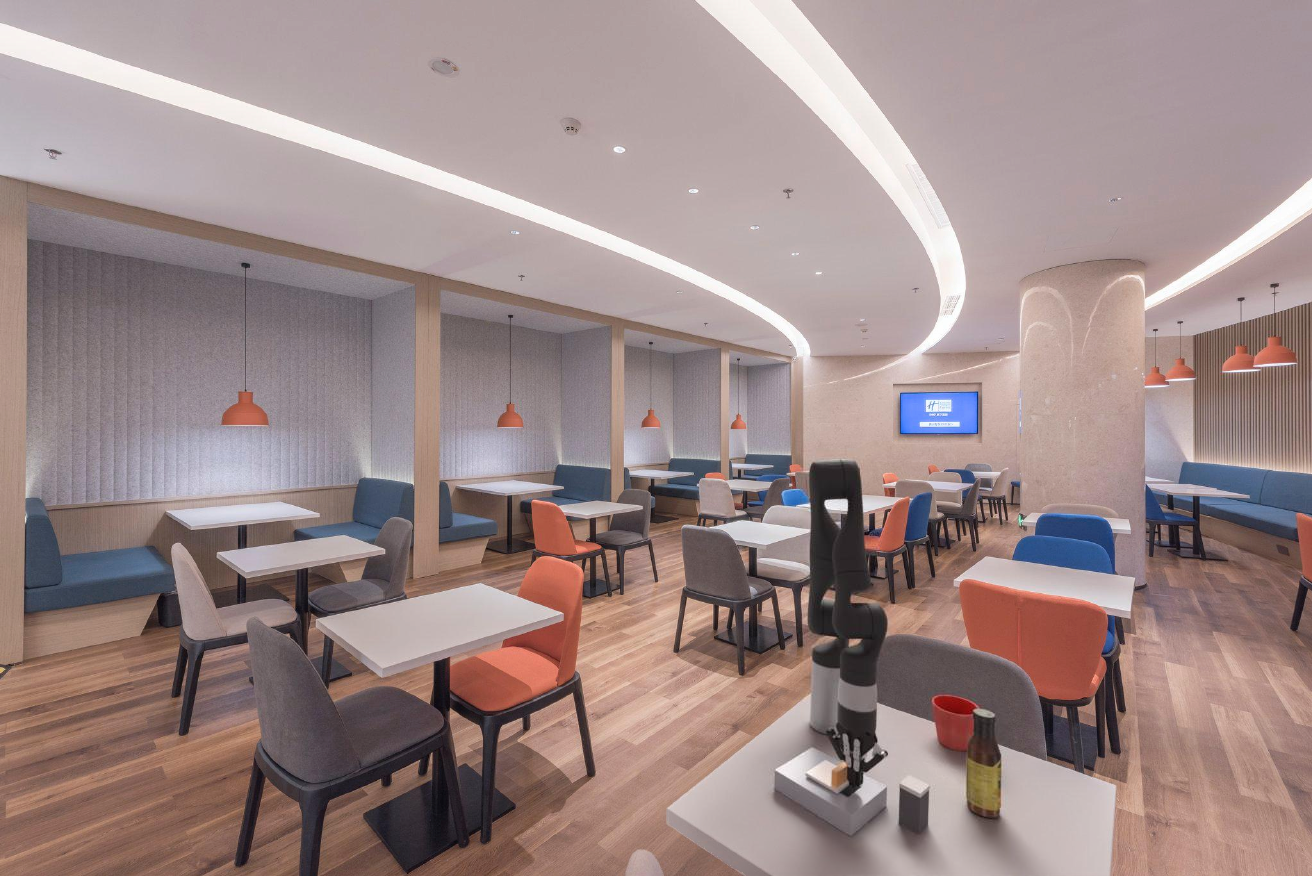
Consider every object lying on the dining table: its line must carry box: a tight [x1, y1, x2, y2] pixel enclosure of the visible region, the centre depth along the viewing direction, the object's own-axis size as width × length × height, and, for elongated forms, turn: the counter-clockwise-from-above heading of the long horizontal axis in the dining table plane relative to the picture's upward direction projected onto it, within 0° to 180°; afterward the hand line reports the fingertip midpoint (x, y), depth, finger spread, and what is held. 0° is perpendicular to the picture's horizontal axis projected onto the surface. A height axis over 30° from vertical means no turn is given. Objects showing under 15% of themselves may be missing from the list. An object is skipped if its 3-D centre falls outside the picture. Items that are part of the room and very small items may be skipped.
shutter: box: [806, 760, 849, 794], centre depth 116 cm, size 8×8×4 cm
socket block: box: [773, 747, 888, 837], centre depth 116 cm, size 14×18×4 cm
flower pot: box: [931, 694, 980, 752], centre depth 138 cm, size 11×11×10 cm
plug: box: [898, 774, 931, 835], centre depth 108 cm, size 4×4×8 cm
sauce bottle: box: [965, 708, 1003, 819], centre depth 113 cm, size 7×6×20 cm
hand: (854, 785), depth 112 cm, fingers closed
